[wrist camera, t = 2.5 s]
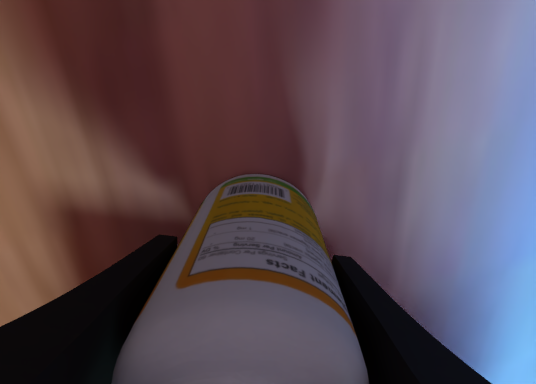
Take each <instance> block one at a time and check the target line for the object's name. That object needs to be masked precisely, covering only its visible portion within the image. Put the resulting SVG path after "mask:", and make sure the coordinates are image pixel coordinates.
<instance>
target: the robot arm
mask: <svg viewBox="0 0 536 384" xmlns="http://www.w3.org/2000/svg"><path fill="white" fill-rule="evenodd" d="M176 249H177V237H174V236H165V235H158V236H157V237H155V238H153V239H152V240H150V241H149V242H147V243H146V244H144V245H143V246H141V247H140V248H138V249H137V250H135V251H134V252H132V253H131V254H129V255H128V256H126V257H125V258H123V259H122V260H120V261H118V262H117V263H115V264H114V265H112V266H111V267H109V268H108V269H106V270H104V271H103V272H101V273H99V274H98V275H96V276H94V277H93V278H91V279H89V280H88V281H86V282H84V283H82V284H81V285H79V286H77V287H76V288H74V289H72V290H71V291H69V292H67V293H65V294H64V295H62V296H60V297H58V298H56V299H54V300H53V301H51V302H49V303H47V304H45V305H43V306H41V307H39V308H37V309H35V310H33V311H31V312H29V313H27V314H25V315H23V316H22V317H20V318H18V319H16V320H13V321H11V322H9V323H7V324H5V325H3V326H1V327H0V384H111V383H112V377H113V371H114V368H115V364H116V361H117V358H118V355H119V353H120V351H121V348H122V346H123V344H124V342H125V341H126V339H127V337H128V335H129V333H130V331H131V329H132V327H133V325H134V323H135V321H136V319H137V317H138V316H139V314H140V312H141V310H142V308H143V307H144V305H145V303H146V301H147V300H148V298H149V296H150V294H151V293H152V291H153V289H154V287H155V286H156V284H157V282H158V280H159V279H160V277H161V275H162V273H163V272H164V270H165V268H166V266H167V265H168V263H169V261H170V259H171V258H172V256H173V254H174V252H175V250H176ZM331 263H332V266H333V269H334V272H335V275H336V278H337V281H338V284H339V287H340V290H341V293H342V296H343V299H344V302H345V304H346V307H347V310H348V313H349V316H350V319H351V322H352V324H353V327H354V330H355V333H356V336H357V339H358V342H359V345H360V348H361V352H362V355H363V358H364V362H365V365H366V368H367V373H368V379H369V384H491V383H490V382H489V381H488V380H486V379H485V378H484V377H482V376H481V375H480V374H478V373H477V372H476V371H474V370H473V369H472V368H471V367H469V366H468V365H467V364H466V363H464V362H463V361H462V360H461V359H460V358H458V357H457V356H456V355H455V354H453V353H452V352H451V351H450V350H448V349H447V348H446V347H445V346H444V345H442V344H441V343H440V342H439V341H438V340H437V339H435V338H434V337H433V336H432V335H431V334H430V333H428V332H427V331H426V330H425V329H424V328H423V327H422V326H421V325H420V324H419V323H417V322H416V321H415V320H414V319H413V318H412V317H411V316H410V315H409V314H408V313H407V312H405V311H404V310H403V309H402V308H401V307H400V306H399V305H398V304H397V303H396V302H395V301H394V300H393V299H392V298H391V297H390V296H389V295H388V294H387V293H386V292H385V291H384V290H383V289H382V288H381V287H380V286H379V285H378V284H377V283H376V282H375V281H374V280H373V279H372V278H371V277H370V276H369V275H368V274H367V273H366V272H365V271H364V270H363V269H362V268H361V267H360V266H359V265H358V264H357V263H356V262H355V261H354V260H353V259H352V258H351V257H346V256H338V255H333V259H332V262H331Z"/></svg>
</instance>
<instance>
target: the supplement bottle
mask: <svg viewBox="0 0 536 384" xmlns="http://www.w3.org/2000/svg"><path fill="white" fill-rule="evenodd" d="M111 384H369V379H368V373H367V368H366V365H365V362H364V358H363V355H362V352H361V348H360V345H359V342H358V339H357V336H356V333H355V330H354V327H353V324H352V322H351V319H350V316H349V313H348V310H347V307H346V304H345V302H344V299H343V296H342V293H341V290H340V287H339V284H338V281H337V278H336V275H335V272H334V269H333V266H332V263H331V260H330V257H329V254H328V252H327V249H326V246H325V243H324V240H323V237H322V234H321V231H320V228H319V225H318V222H317V219H316V216H315V214H314V211H313V209H312V207H311V205H310V203H309V202H308V200H307V198H306V197H305V196H304V195H303V194H302V193H301V192H300V191H299V190H298V189H297V188H296V187H294V186H293V185H291V184H290V183H288V182H286V181H284V180H282V179H280V178H277V177H273V176H270V175H264V174H246V175H241V176H237V177H234V178H231V179H229V180H227V181H225V182H223V183H221V184H220V185H218V186H217V187H216V188H215V189H213V190H212V191H211V192H210V193H209V194H208V196H207V197H206V198H205V200H204V201H203V203H202V204H201V206H200V208H199V209H198V211H197V213H196V215H195V217H194V218H193V220H192V222H191V224H190V225H189V227H188V229H187V231H186V233H185V235H184V236H183V238H182V240H181V242H180V243H179V245H178V247H177V249H176V250H175V252H174V254H173V256H172V258H171V259H170V261H169V263H168V265H167V266H166V268H165V270H164V272H163V273H162V275H161V277H160V279H159V280H158V282H157V284H156V286H155V287H154V289H153V291H152V293H151V294H150V296H149V298H148V300H147V301H146V303H145V305H144V307H143V308H142V310H141V312H140V314H139V316H138V317H137V319H136V321H135V323H134V325H133V327H132V329H131V331H130V333H129V335H128V337H127V339H126V341H125V342H124V344H123V346H122V348H121V351H120V353H119V355H118V358H117V361H116V364H115V368H114V371H113V377H112V383H111Z"/></svg>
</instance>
